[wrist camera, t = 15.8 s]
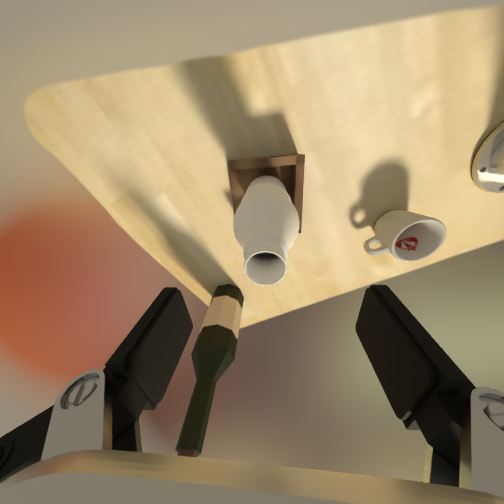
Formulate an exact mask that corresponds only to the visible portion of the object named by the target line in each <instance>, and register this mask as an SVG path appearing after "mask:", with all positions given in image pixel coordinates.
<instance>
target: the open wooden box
mask: <svg viewBox="0 0 504 504" xmlns="http://www.w3.org/2000/svg"><path fill="white" fill-rule="evenodd" d="M304 162H305V155H303V154H294V155H284V156H274V157H263V158H253V159H243V160H232V161H228V166H229V173H230V180H231V187H232V195H233V202H234V209H235V213H236V210H237V208H238V207H239V205H240V204H241V200H242V198H243V196H244V195H245V193H246V191H247V189H248V187H249V185H250V184H251V182H252V181H254V180H255V179H256V178H258V177H260V176H264V175H268V176H274V177H276V178H277V179H279V180H280V181H281V182H282V183H283V185H284V186H285V188H286V191H287V193H288V195H289V196H290V199H291V202H292V204H293V205H294V206H295V208H296V210H297V213H298V216H299V231H298V233H301V224H302V204H303V183H304Z"/></svg>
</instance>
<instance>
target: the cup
mask: <svg viewBox="0 0 504 504" xmlns="http://www.w3.org/2000/svg"><path fill="white" fill-rule="evenodd" d="M374 232H375V236H374V237H372V238H370V239H368V240H367V241H365V243H364V249H365V251H366V252H367V253H368V254H370V255H372V256H379V255H383V254H386V253H391V254H392V255H393V256H394V257H395V258H397V259H399V260H401V261H408V262H410V261H417V260H421V259H423V258H426V257H428V256H430V255H431V254H433V253H434V252H435V251H436V250H437V249H438V248H439V247H440V246H441V245H442V243H443V242H444V240H445V237H446V228H445V226H444V224H443V223H442V222H441V221H439V220H438V219H435V218H432V217H428V216H424V215H420V214H416V213H412V212H409V211H404V210H394V211H390V212H387V213H386V214H384V215H382V216H381V217H380V218H379V219H378V221H377V222H376V224H375V228H374ZM372 244H380V245H381V247H379V248H377V249H371V248H369V246H370V245H372Z"/></svg>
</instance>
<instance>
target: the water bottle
mask: <svg viewBox="0 0 504 504" xmlns="http://www.w3.org/2000/svg"><path fill="white" fill-rule="evenodd" d="M233 227H234V233H235V237H236V239H237V241H238V243H239V244H240V246H241V247H242V248H243V249H244V252H243V253H244V258H245V262H244V270H245V273H246V276H247V277H248V278H249V279H250V280H251V281H252V282H253V283H255V284H258V285H262V286H270V285H275V284H276V283H278V282H280V281H281V280H282V279H283V278H284V277H285V275H286V271H287V262H286V261H287V258H288V249H289V248H290V247H291V246H292V245H293V243H294V242H295V240H296V238H297V236H298V231H299V216H298V213H297V210H296V208H295V206H294V205H293V204H292V202H291V199H290V196H289V195H288V193H287V191H286V188H285V186H284V185H283V183H282V182H281V181H280V180H279V179H277V178H276V177H274V176H268V175H264V176H260V177H258V178H256V179H255V180H254V181H252V182H251V184H250V185H249V187H248V189H247V191H246V193H245V195H244V196H243V198H242V200H241V204H240V205H239V207H238V208H237V210H236V213H235V216H234V222H233Z"/></svg>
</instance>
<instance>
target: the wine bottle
mask: <svg viewBox="0 0 504 504" xmlns="http://www.w3.org/2000/svg"><path fill="white" fill-rule="evenodd" d="M243 300H244V297H243V295H242V292H241V290H240V289H239V288H237V287H234V286H232V285H230V284H227V285H222V286H218V287H217V289H216V291H215V292H214V294H213V297H212V300H211V302H210V305H209V308H208V311H207V313H206V316H205V319H204V321H203V324H202V327H201V330H200V332H199V335H198V338H197V341H196V343H195V346H194V349H193V352H192V354H191V355H192V360H193V364H194V369H195V374H196V379H197V381H196V384H195V387H194V391H193V394H192V397H191V400H190V404H189V407H188V410H187V414H186V417H185V420H184V424H183V427H182V430H181V433H180V437H179V440H178V444H177V447H176V451H177V452H178V455H177V456H186V457H196V458H197V456H198V455H200V454H201V451H202V447H203V442H204V437H205V433H206V428H207V423H208V418H209V414H210V409H211V404H212V400H213V395H214V391H215V386H216V382H217V381H218V380H219V378H220V377H221V376H222V375H223V373H224V372H225V371H226V369H227V368H228V367H229V366H230V364H231V363H232V362H233V361H234V358H235V352H236V344H237V339H238V332H239V326H240V319H241V313H242V306H243Z"/></svg>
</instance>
